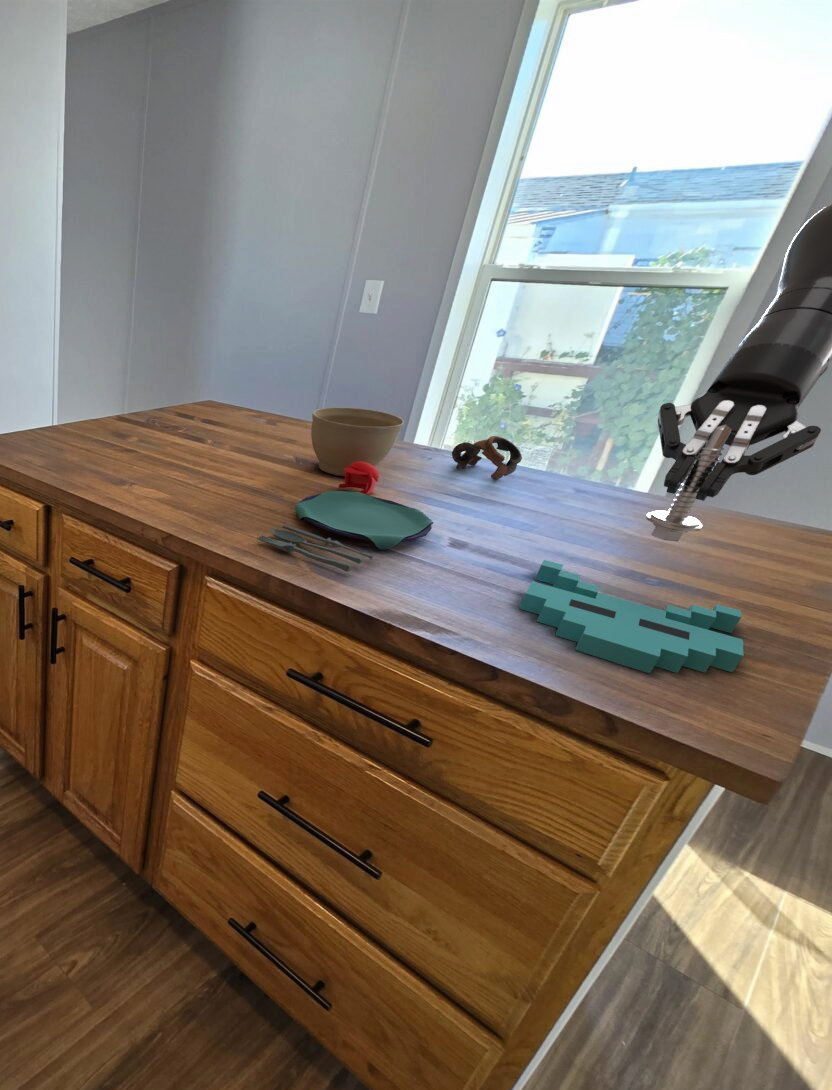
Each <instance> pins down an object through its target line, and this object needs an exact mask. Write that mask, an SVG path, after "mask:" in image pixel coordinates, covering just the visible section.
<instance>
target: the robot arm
mask: <svg viewBox="0 0 832 1090" xmlns="http://www.w3.org/2000/svg"><path fill="white" fill-rule="evenodd" d="M831 362H832V203H830V204H828V205H827V206H824V207H823V208H821V210H818V211H817V212H816V213H815V214H814V215H813V216H812V217H810V218H809V219H808V220H807V221H806V222H805V223H804V224H803V225H802V227H801V228H800V229H799V231H798V232H797V233H796V234H795V236H794V237H793V239H792V241H791V243H790V245H789V246H788V249H787V252H786V253H785V257H784V261H783V265H782V269H781V272H780V277H779V282H778V284H777V288H776V295H775V297H774V299H773V300H772V302H771V303H770V304H769V306H768V308H767V309H766V310H765V312H764V313H763V314H762V316H761V318H760V319H759V321H757V323H756V325H755V326H754V327H752V329H751V330H750V331H749V332H748V333H747V334H746V336H744V337H743V339H742V340H741V342H740V343H739V345H737V348H735V350H734V351H733V353H732V355H730V357H729V359H728V360H727V361H726V363H725V365H724V366H723V368H722V369H721V370H720V371H719V373H718V374H717V376H716V377H715V379H714V380H713V382H712V383H711V384H710V386H709V388H708V389H707V390H706V392H705V393H704V394H702V395H701V396H698V397H697V398H695V399H694V400H692V402H691V403H690V404H684V405H677V406H675V404H674V403H672V402H665V403H662V405H660V408H659V412H658V418H657V427H658V433H659V441H660V446H661V452H662V456H663V457H664V458H665V459H673V460H674V463H673V464H672V466H671V468H670V469H669V470H668V472H667V473H666V474H665V477H664V480H663V487H665V488H666V493H669V494H672V495H676V493H677V491H679V489H680V487H681V486H682V485H681V484H684V482H685V480H684V479H687V478H688V475H687V474H690V472H691V470H690V469H692V468H693V466H694V465H693V464H695V462H696V461H697V460H696V458H698V457H699V454H698V453H701V452H702V450H703V449H702V448H705V446H706V445H707V443H708V441H709V439H710V437H711V435H712V433H713V432H714V430H715V429H716V427H719V426H723V425H727V426H728V427H729V428H731V429H732V430H731V432H730V435H729V437H728V438H727V440H726V442H725V444H724V445H727V446H729V447H728V450H727V452H726V453H725V455H724V457H723V458H722V460H721V461H716V463H715V464H716V465H715V467H713V468H712V469H713V470H712V471H711V472H710V474H709V475H708V477H707V478H706V480H705V481H704V483H703V484H702V486H701V487H700V489H699V490H698V493H697V496H696V500H697V501H698V500H700V501H702V502H705V500H706V499H707V498H708V497H709V498H714V497H716V496H718V495H719V493H720V492H721V491H722V489H723V488H724V486H725V485H726V483H727V482H728V480H729V479H730V478H731V476H733V475H734V474H738V473H740V474H741V473H745V474H746V475H747V476H756V475H759V474H761V473H763V472H765V471H767V470H769V469H771V468H773V467H775V466H776V465H779V464H781V463H783V462H786V461H787V460H789V459H791V458H793V457H795V456H797V455H799V454H801V453H803V452H805V451H807V450H809V449H811V448H813V446H814V445H815V443H816V442H817V440H818V438H819V436H820V434H821V432H822V429H821V427H819V426H818V425H807V426H806V425H804V424H803V423H801V422H800V421H798V419H799V412H798V409H799V408H800V406H801V405H802V404H803V402H804V400H805V399H806V398H807V396H808V395H809V394H810V392H811V391H812V389H813V388H814V386H815V385H816V384H817V381H818V380H819V379H820V377H822V375H824V373H825V372H826V371H827V370H828V368H829V365H830V363H831ZM687 417H690V419H691V422H692V423H693V427H694V429H695V433H694V435H693V436H692V438H691V439H690V440H689V441H688V442H687V443H684V442H682V441H681V435H680V430H679V426H681V425H683V423H684V422H685V419H686V418H687ZM782 433H783V435H782V436H781V439H780V440H778V441H776V442H774V443H772V444H770V445H768V446H766V447H764V448H762V449H760V450H757V451H756V452H754V453H752V454H750V455H748V454H747V455H746V453H748V452H747V451H748V450H749V448H750V446H752V445H756V444H758V443H760V442H763V441H765V440H768V439H770V438H772V437H774V436H777V435H780V434H782Z"/></svg>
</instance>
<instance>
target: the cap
mask: <svg viewBox="0 0 832 1090" xmlns="http://www.w3.org/2000/svg"><path fill="white" fill-rule="evenodd" d="M344 471H345V476H344V482H343V483H339V484H338V489H346V488H353V489H354V488H355V489H360V491H358V492H359V493H363V494H366V495H368V496H371V495H372V494H373V492H374V489H375V487H376V485H377V483H378V481H379V479H380V474H379V472H378V469H377V468H376V466H375V467H374V466H372V465H371V464H369V463H367V462H361V461H359V462H353V463H352V464H351V465H349V467H347V468H345V469H344Z"/></svg>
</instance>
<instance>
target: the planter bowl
mask: <svg viewBox="0 0 832 1090" xmlns="http://www.w3.org/2000/svg"><path fill="white" fill-rule="evenodd" d="M311 418H312V422H311V428H310V429H311V430H310V437H311V445H312V449H313V452H314V454H315V456H316V458H317V459H318V468H319V469H320V470H321V471H322V472H325V473H328V474H330V475H334V476H340V477H345V471H344V469H345V468H347V467H349V465H351V464H352V463H353V462H359V461H361V462H367V463H369V464H371V465H372V466H374V467H375V468H376V466H377V465H379V464H380V463H381V462H382V461H383V460H384V459H385V458H386V457H387V456H388V454H389V453H390V452H391V451H392V449H393V448H394V446H395V444H396V442H397V440H398V438H399V435H400V432H401V430H402V428H403V427H404V424H405V421H404V419H403V418H402V417H400V416H397V415H395V414H392V413H389V412H384V411H380V410H375V409H374V410H373V409H366V408H358V407H341V406H340V407H332V406H331V407H323V408H317V409H315V410H313V412H312V415H311Z"/></svg>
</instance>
